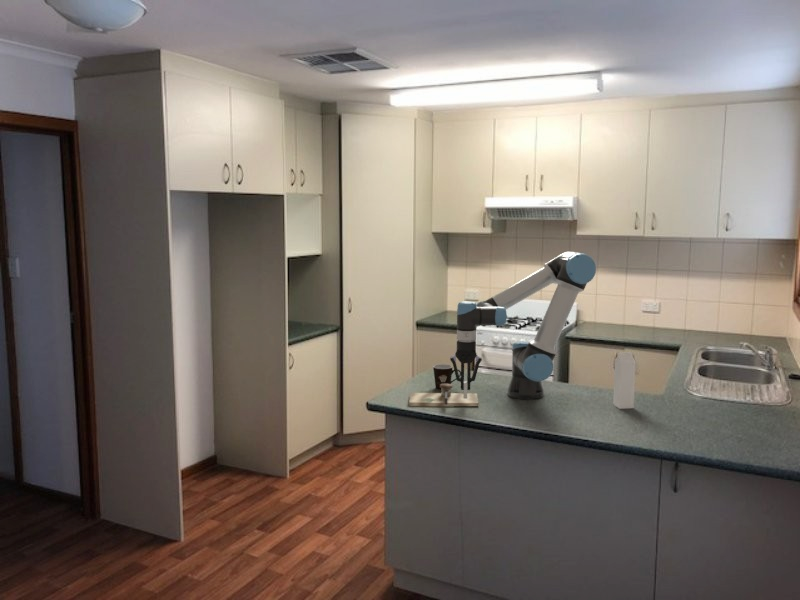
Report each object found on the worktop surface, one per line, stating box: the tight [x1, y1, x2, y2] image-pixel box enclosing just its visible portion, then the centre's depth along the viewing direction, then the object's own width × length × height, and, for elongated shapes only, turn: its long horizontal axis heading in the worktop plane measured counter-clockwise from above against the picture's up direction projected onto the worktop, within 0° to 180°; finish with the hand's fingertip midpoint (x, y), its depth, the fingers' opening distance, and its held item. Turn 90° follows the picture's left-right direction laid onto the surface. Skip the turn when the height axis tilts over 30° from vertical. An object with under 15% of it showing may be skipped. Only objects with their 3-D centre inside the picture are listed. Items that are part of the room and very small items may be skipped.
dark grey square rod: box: [440, 383, 453, 405], centre depth 267 cm, size 5×17×4 cm, turn 176°
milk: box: [612, 352, 637, 410], centre depth 260 cm, size 6×6×22 cm
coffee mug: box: [432, 363, 461, 391], centre depth 288 cm, size 12×9×10 cm
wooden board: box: [408, 392, 479, 407], centre depth 270 cm, size 28×14×2 cm, turn 86°
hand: (465, 397), depth 263 cm, fingers closed
